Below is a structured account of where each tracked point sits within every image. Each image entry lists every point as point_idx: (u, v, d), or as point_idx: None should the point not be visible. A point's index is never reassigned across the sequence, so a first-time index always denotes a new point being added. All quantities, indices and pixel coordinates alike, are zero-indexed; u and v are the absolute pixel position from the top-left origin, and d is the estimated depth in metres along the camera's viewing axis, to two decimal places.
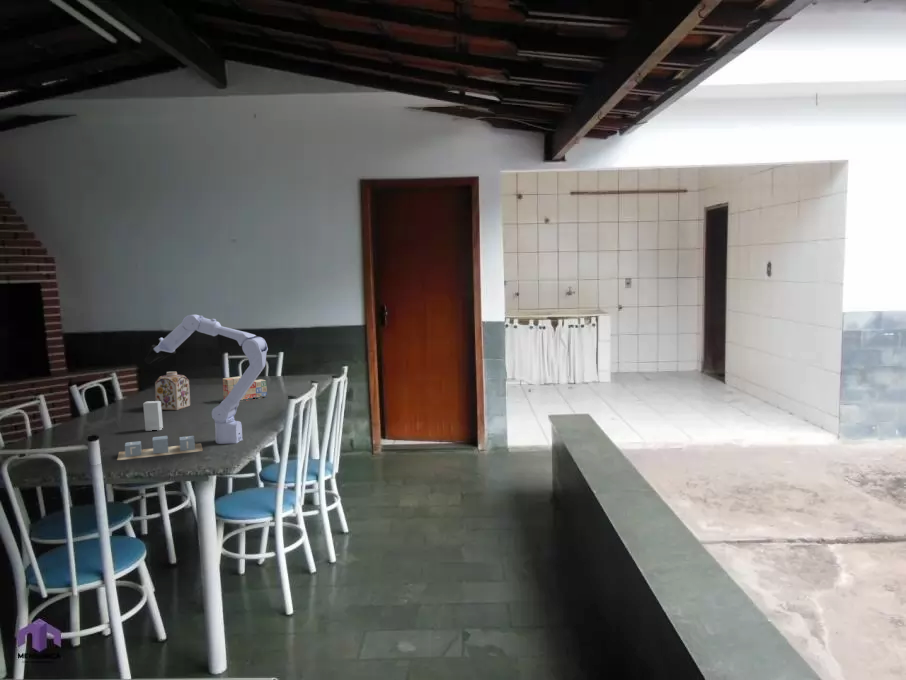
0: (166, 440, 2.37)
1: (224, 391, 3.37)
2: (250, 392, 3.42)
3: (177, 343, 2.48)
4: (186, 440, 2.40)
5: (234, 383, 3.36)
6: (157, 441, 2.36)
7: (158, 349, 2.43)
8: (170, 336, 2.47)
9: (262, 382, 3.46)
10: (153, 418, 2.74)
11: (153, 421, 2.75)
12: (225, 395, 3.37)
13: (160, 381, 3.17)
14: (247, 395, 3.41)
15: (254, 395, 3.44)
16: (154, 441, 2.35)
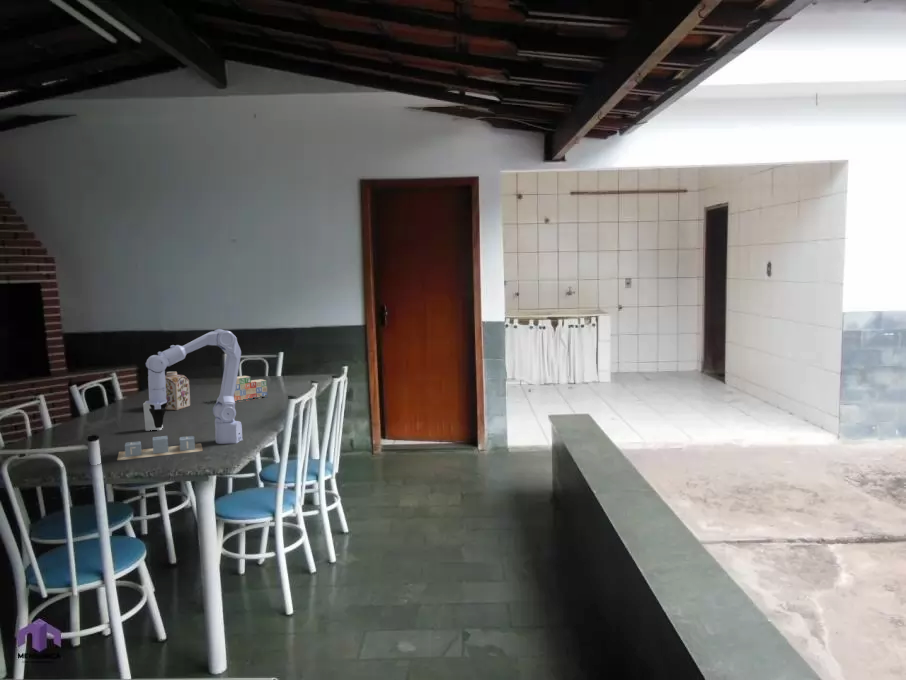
0: (166, 440, 2.37)
1: None
2: (250, 392, 3.42)
3: (164, 389, 2.36)
4: (186, 440, 2.40)
5: None
6: (157, 441, 2.36)
7: (159, 405, 2.31)
8: (153, 390, 2.34)
9: (262, 382, 3.47)
10: None
11: (153, 421, 2.75)
12: None
13: None
14: (248, 395, 3.41)
15: (254, 395, 3.44)
16: (154, 441, 2.35)
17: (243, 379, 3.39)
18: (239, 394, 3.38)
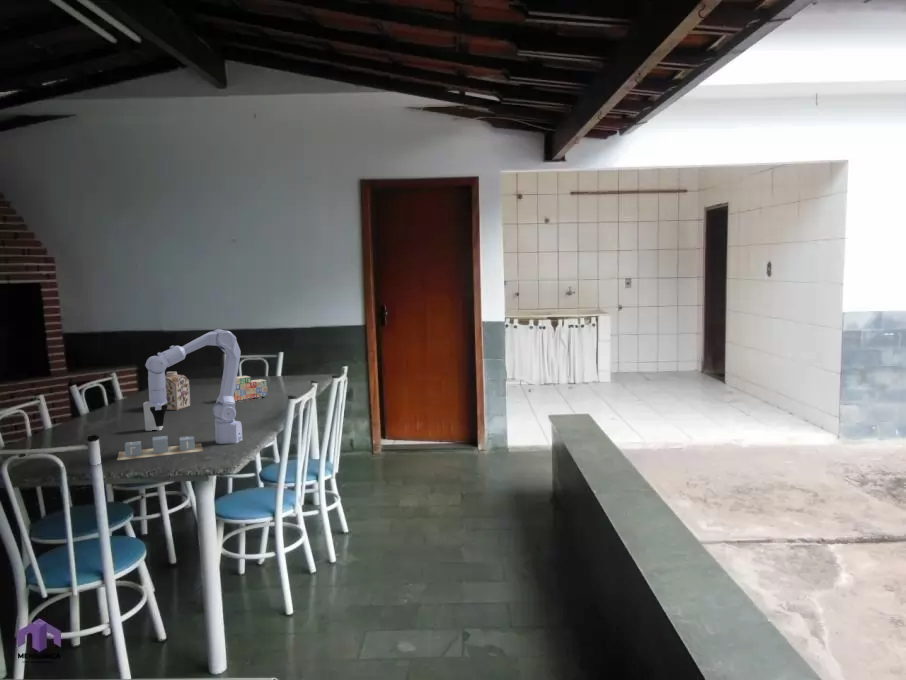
0: (166, 440, 2.37)
1: None
2: (251, 392, 3.42)
3: (164, 390, 2.36)
4: (186, 440, 2.40)
5: None
6: (157, 441, 2.36)
7: (159, 406, 2.31)
8: (153, 391, 2.34)
9: (262, 382, 3.47)
10: (153, 418, 2.74)
11: (153, 421, 2.75)
12: None
13: None
14: (248, 395, 3.41)
15: (254, 395, 3.44)
16: (154, 441, 2.35)
17: (243, 379, 3.39)
18: (239, 394, 3.38)
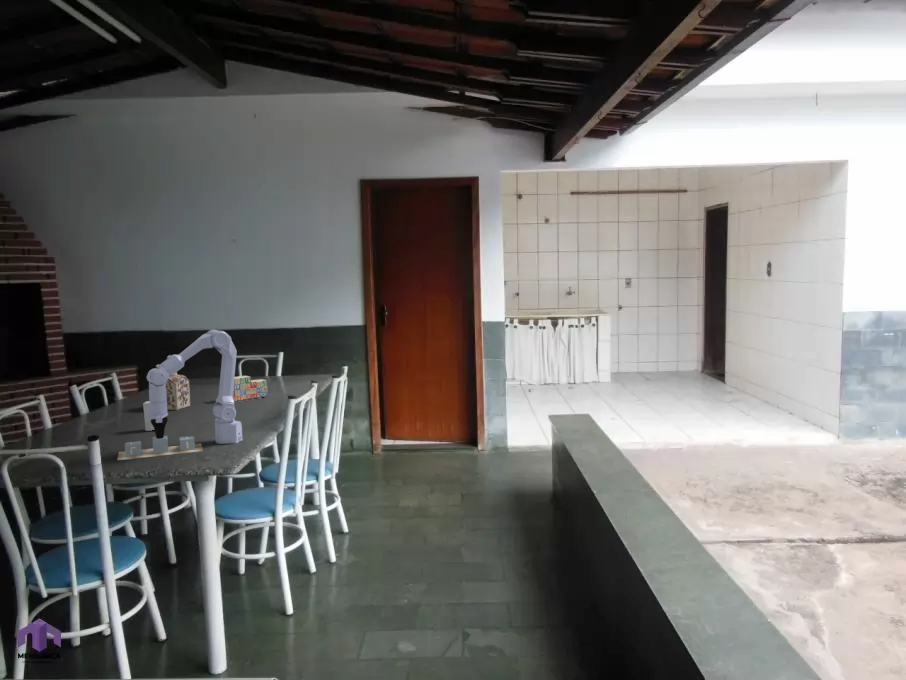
0: (166, 440, 2.37)
1: None
2: (251, 392, 3.42)
3: (165, 402, 2.37)
4: (186, 440, 2.40)
5: (235, 383, 3.36)
6: (157, 441, 2.36)
7: (160, 418, 2.31)
8: (154, 403, 2.34)
9: (263, 382, 3.47)
10: (153, 418, 2.74)
11: None
12: None
13: None
14: (248, 395, 3.42)
15: (255, 395, 3.44)
16: (154, 441, 2.35)
17: (243, 379, 3.39)
18: (239, 394, 3.38)
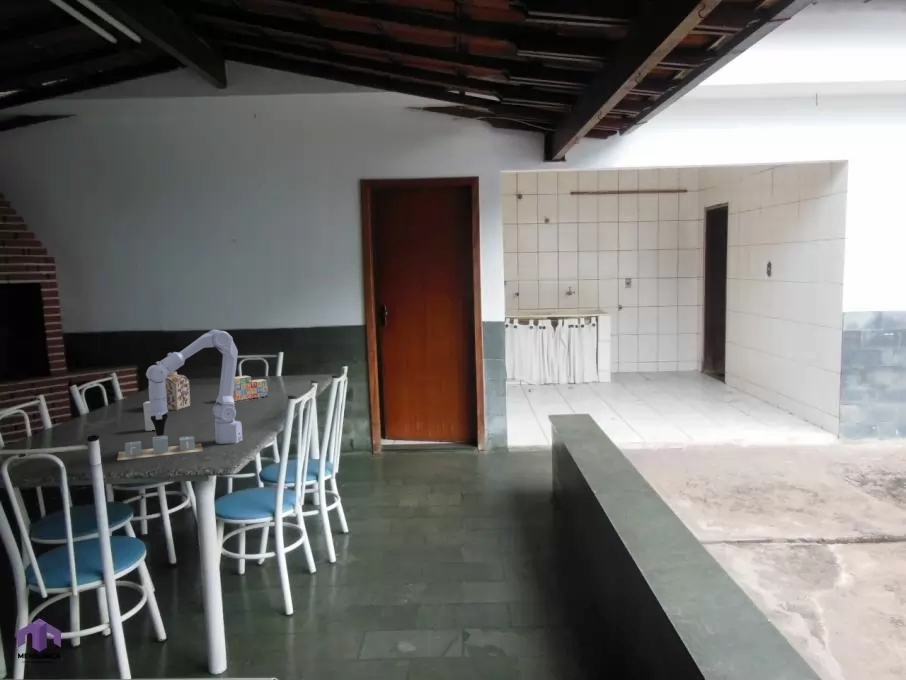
0: (166, 440, 2.37)
1: None
2: (251, 392, 3.43)
3: (164, 399, 2.36)
4: (186, 440, 2.40)
5: (235, 383, 3.36)
6: (157, 441, 2.36)
7: (160, 415, 2.31)
8: (154, 400, 2.34)
9: (263, 382, 3.47)
10: None
11: None
12: None
13: None
14: (248, 395, 3.42)
15: (255, 395, 3.44)
16: (154, 441, 2.35)
17: (244, 379, 3.39)
18: (240, 394, 3.38)
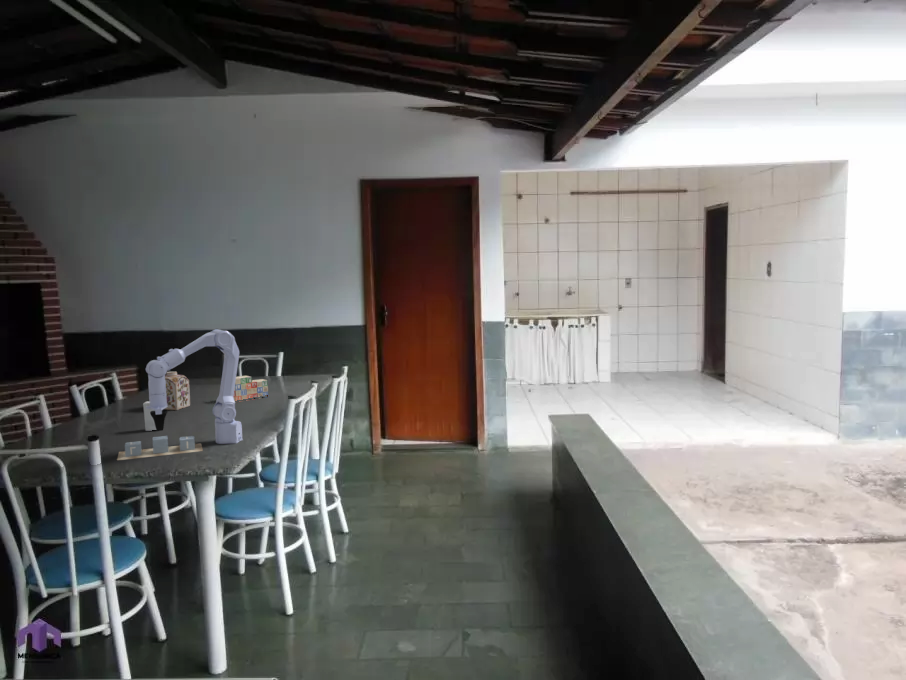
0: (166, 440, 2.37)
1: None
2: (251, 392, 3.43)
3: (164, 394, 2.36)
4: (186, 440, 2.40)
5: (235, 383, 3.36)
6: (157, 441, 2.36)
7: (159, 410, 2.31)
8: (153, 395, 2.34)
9: (263, 382, 3.47)
10: None
11: (153, 421, 2.75)
12: None
13: None
14: (249, 395, 3.42)
15: (255, 395, 3.44)
16: (154, 441, 2.35)
17: (244, 379, 3.39)
18: (240, 394, 3.38)
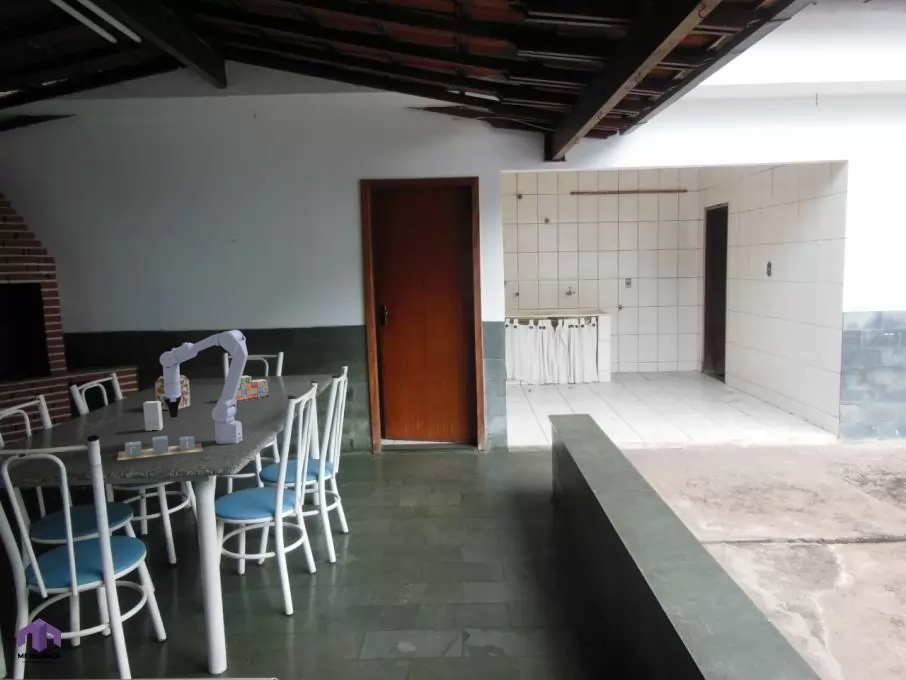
0: (166, 440, 2.37)
1: None
2: (252, 392, 3.43)
3: (178, 383, 2.51)
4: (186, 440, 2.40)
5: None
6: (157, 441, 2.36)
7: (174, 398, 2.46)
8: (168, 384, 2.49)
9: (263, 382, 3.47)
10: (153, 418, 2.74)
11: (153, 421, 2.75)
12: None
13: (160, 381, 3.17)
14: (249, 395, 3.42)
15: (256, 395, 3.45)
16: (154, 441, 2.35)
17: (244, 379, 3.40)
18: (240, 394, 3.38)
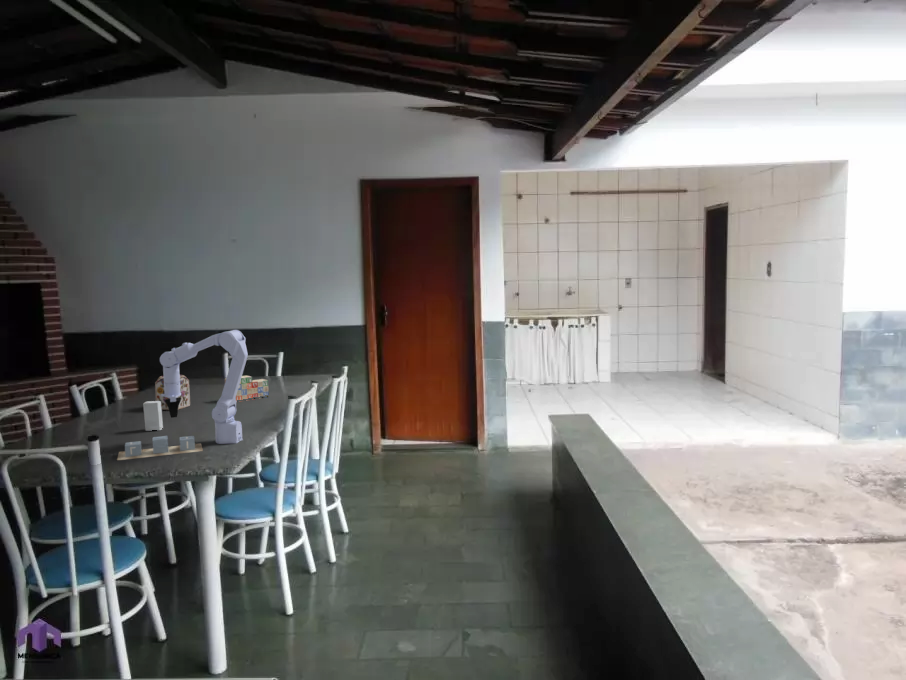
0: (166, 440, 2.37)
1: None
2: (252, 392, 3.43)
3: (178, 383, 2.51)
4: (186, 440, 2.40)
5: None
6: (157, 441, 2.36)
7: (174, 398, 2.46)
8: (168, 384, 2.49)
9: (264, 382, 3.47)
10: (153, 418, 2.74)
11: (153, 421, 2.75)
12: None
13: (160, 381, 3.17)
14: (249, 395, 3.42)
15: (256, 395, 3.45)
16: (154, 441, 2.35)
17: (245, 379, 3.40)
18: (240, 394, 3.38)
